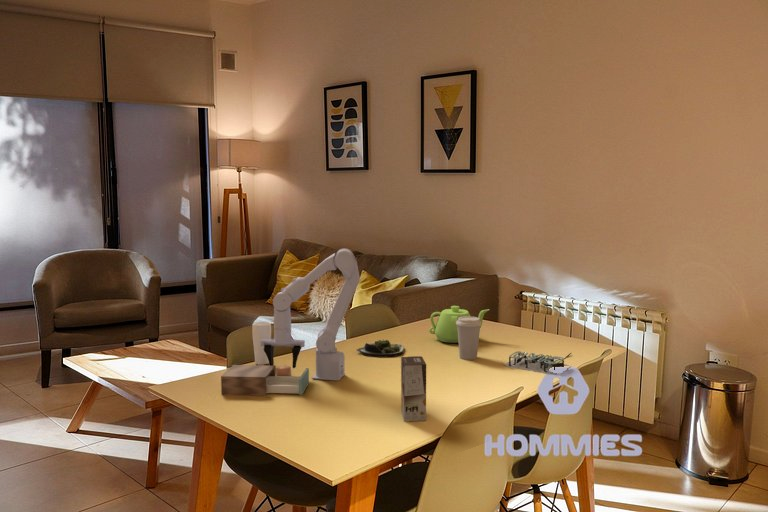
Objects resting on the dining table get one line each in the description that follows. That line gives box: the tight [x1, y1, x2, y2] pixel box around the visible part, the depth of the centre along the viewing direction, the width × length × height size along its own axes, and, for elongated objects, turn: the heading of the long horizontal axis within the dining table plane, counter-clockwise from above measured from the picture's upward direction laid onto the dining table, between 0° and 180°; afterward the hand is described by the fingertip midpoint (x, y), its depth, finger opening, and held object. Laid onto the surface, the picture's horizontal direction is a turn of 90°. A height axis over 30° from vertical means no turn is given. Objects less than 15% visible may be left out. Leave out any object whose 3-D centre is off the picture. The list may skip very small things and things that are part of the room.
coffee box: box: [400, 355, 427, 422], centre depth 185 cm, size 9×6×16 cm
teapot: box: [428, 305, 490, 344], centre depth 275 cm, size 19×20×14 cm
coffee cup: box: [456, 315, 483, 361], centre depth 247 cm, size 10×10×15 cm
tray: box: [266, 367, 310, 396], centre depth 210 cm, size 14×13×5 cm
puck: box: [275, 365, 292, 376], centre depth 223 cm, size 5×5×4 cm
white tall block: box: [251, 321, 272, 365], centre depth 239 cm, size 7×7×15 cm
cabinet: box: [220, 364, 276, 396], centre depth 210 cm, size 14×13×6 cm
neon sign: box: [503, 350, 572, 376], centre depth 242 cm, size 21×4×29 cm
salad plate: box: [356, 339, 405, 358], centre depth 258 cm, size 19×18×5 cm
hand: (283, 367), depth 222 cm, fingers open, 7 cm apart
